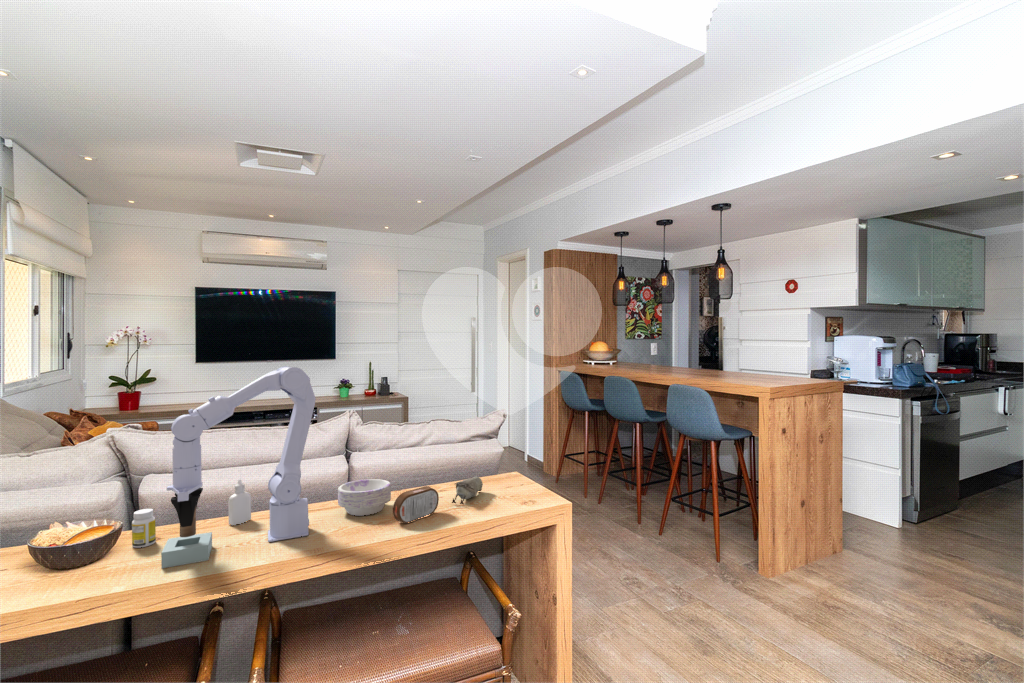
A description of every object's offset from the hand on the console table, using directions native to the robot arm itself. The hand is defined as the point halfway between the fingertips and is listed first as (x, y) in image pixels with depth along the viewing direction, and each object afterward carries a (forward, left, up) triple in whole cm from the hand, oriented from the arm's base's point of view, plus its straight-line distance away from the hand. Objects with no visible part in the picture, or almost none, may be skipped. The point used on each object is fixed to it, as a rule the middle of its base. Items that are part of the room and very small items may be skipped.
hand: (187, 523), depth 117 cm
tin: (-55, +1, -8) cm, 56 cm away
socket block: (0, 0, -8) cm, 8 cm away
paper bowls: (-43, -13, -8) cm, 46 cm away
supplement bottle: (+11, -14, -8) cm, 20 cm away
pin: (0, 0, -3) cm, 3 cm away
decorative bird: (-75, -9, -8) cm, 76 cm away
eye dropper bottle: (-10, -20, -8) cm, 24 cm away
